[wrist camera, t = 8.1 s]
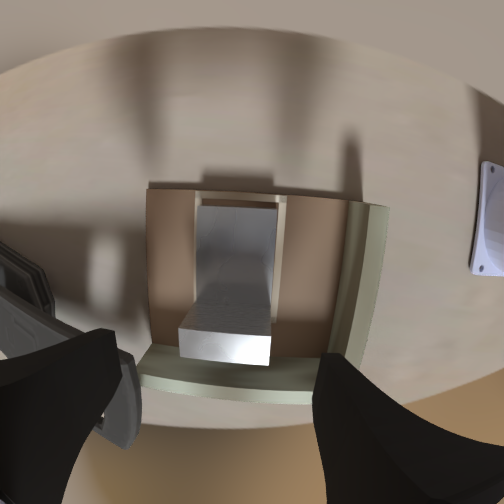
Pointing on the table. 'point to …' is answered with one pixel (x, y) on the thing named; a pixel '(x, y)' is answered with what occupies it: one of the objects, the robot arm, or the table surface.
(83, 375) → the robot arm
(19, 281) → the zipper pull
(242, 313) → the angle bracket
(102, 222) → the table surface
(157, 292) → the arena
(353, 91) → the table surface
